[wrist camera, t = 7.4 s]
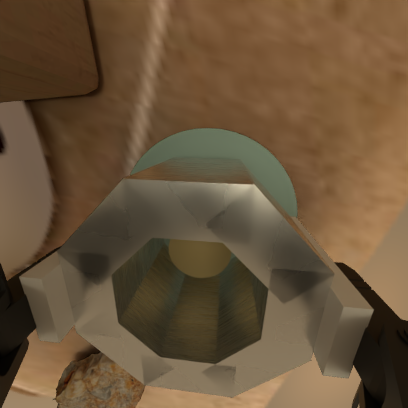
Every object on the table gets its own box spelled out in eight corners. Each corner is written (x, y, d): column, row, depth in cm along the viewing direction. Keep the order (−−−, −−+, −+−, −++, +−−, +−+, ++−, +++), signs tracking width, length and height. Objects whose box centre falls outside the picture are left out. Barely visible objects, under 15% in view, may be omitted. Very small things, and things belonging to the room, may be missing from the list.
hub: (132, 260, 18) (91, 317, 13) (137, 117, 14) (79, 105, 9) (266, 285, 18) (286, 356, 12) (309, 142, 14) (368, 148, 8)
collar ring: (141, 282, 14) (86, 377, 9) (129, 155, 12) (38, 174, 6) (268, 294, 14) (298, 407, 8) (289, 160, 11) (358, 188, 5)
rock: (105, 397, 26) (168, 405, 22) (57, 457, 21) (130, 481, 17) (82, 333, 26) (141, 329, 22) (28, 376, 20) (94, 382, 16)
